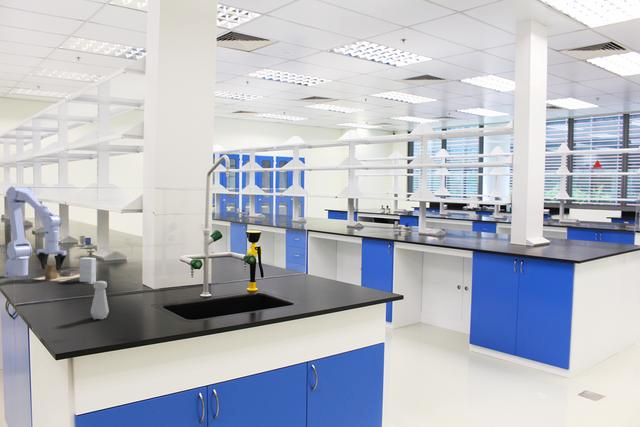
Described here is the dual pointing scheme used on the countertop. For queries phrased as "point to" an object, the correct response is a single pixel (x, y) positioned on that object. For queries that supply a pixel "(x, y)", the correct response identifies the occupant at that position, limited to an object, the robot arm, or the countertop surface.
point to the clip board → (64, 275)
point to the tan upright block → (50, 272)
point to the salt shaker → (99, 301)
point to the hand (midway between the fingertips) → (51, 269)
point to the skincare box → (87, 270)
